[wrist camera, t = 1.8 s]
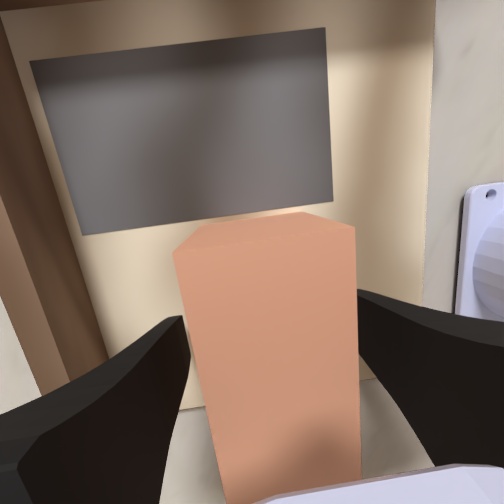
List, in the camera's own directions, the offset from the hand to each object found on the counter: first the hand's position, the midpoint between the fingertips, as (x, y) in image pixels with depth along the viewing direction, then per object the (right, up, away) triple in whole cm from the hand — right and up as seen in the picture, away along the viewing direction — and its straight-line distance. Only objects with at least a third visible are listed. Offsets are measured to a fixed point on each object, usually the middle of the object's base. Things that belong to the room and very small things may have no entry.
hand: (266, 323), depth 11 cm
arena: (-1, +5, +1) cm, 5 cm away
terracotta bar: (0, 0, +1) cm, 1 cm away
